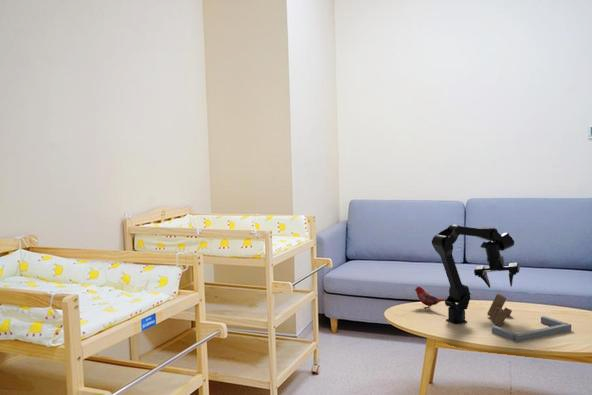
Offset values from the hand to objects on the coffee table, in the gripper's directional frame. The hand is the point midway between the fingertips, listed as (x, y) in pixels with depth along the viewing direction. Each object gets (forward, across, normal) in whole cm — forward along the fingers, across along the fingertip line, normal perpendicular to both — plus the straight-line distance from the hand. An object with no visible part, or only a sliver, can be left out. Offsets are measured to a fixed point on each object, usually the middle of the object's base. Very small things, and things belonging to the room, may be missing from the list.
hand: (500, 286), depth 231 cm
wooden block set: (+11, +1, +11) cm, 16 cm away
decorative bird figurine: (+6, +32, +8) cm, 33 cm away
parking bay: (+10, -12, +22) cm, 27 cm away
